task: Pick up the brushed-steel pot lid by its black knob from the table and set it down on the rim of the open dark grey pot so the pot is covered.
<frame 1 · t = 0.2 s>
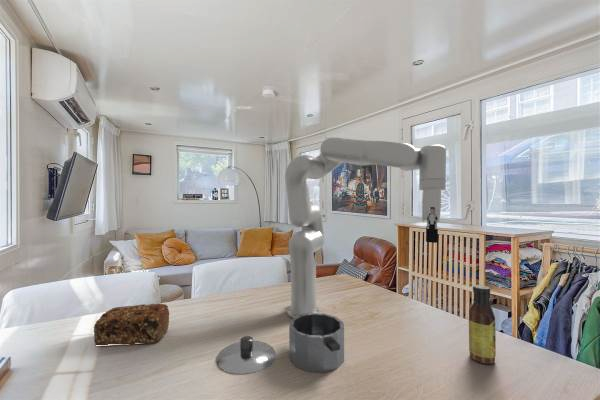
hand: (431, 240, 90), 31 cm above the table, tool pointing down, fingers open, 9 cm apart
lid: (246, 357, 81), on the table
bread: (133, 339, 91), on the table
sauce bottle: (481, 359, 79), on the table
pot: (316, 355, 81), on the table
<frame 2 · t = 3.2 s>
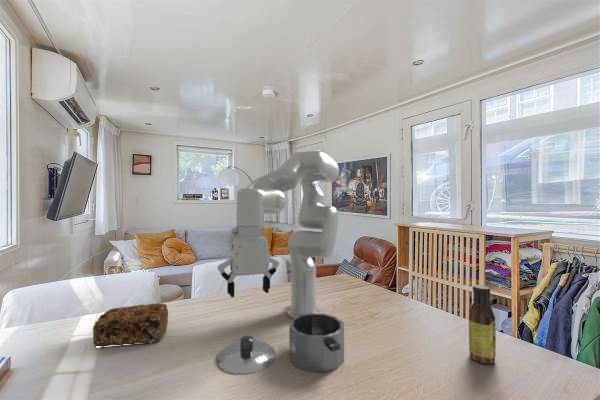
hand: (249, 293, 80), 18 cm above the table, tool pointing down, fingers open, 9 cm apart
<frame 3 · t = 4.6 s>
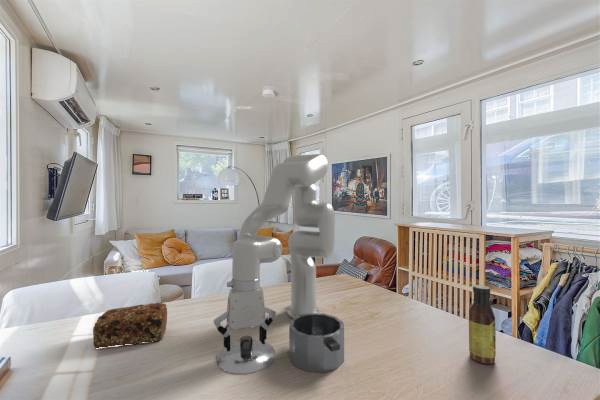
hand: (245, 345, 80), 3 cm above the table, tool pointing down, fingers open, 9 cm apart
nothing on the table moved.
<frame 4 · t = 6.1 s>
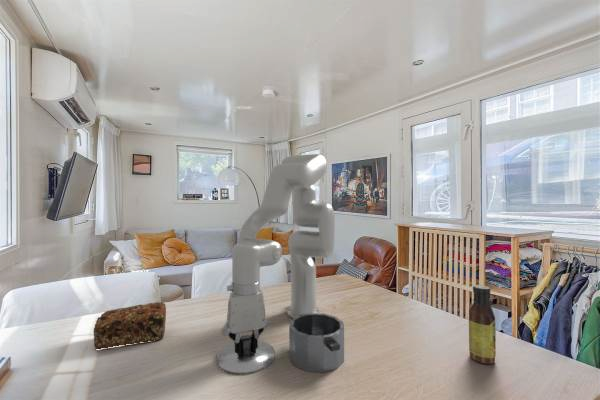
hand: (246, 352, 80), 1 cm above the table, tool pointing down, fingers closed on lid, 3 cm apart
lid: (246, 356, 80), on the table, touching gripper
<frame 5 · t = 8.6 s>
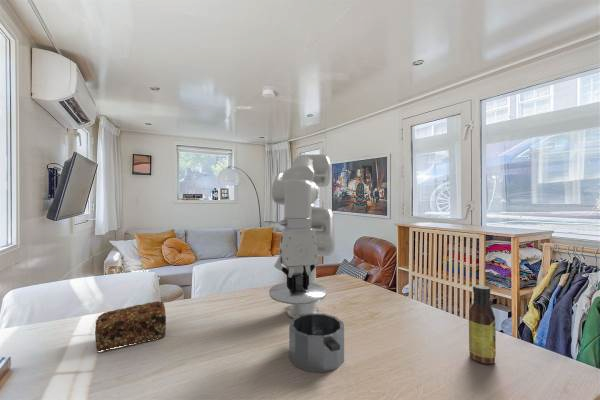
hand: (297, 288, 80), 19 cm above the table, tool pointing down, fingers closed on lid, 3 cm apart
lid: (297, 293, 80), point 18 cm above the table, touching gripper
when the fingers open (12 cm above the table, at t = 11.1 s): lid drops 1 cm, resting on pot.
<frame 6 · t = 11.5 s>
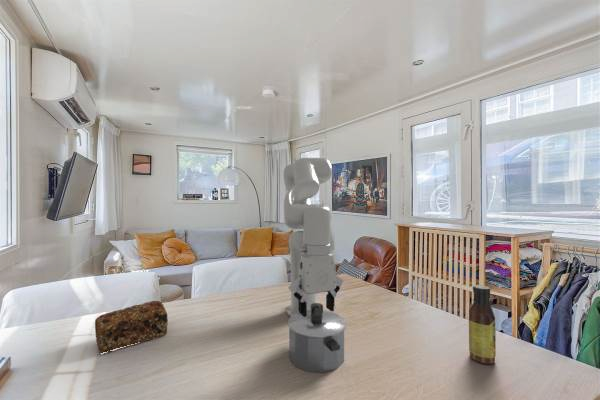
hand: (316, 311, 80), 12 cm above the table, tool pointing down, fingers open, 8 cm apart
lid: (316, 324, 81), point 9 cm above the table, touching pot
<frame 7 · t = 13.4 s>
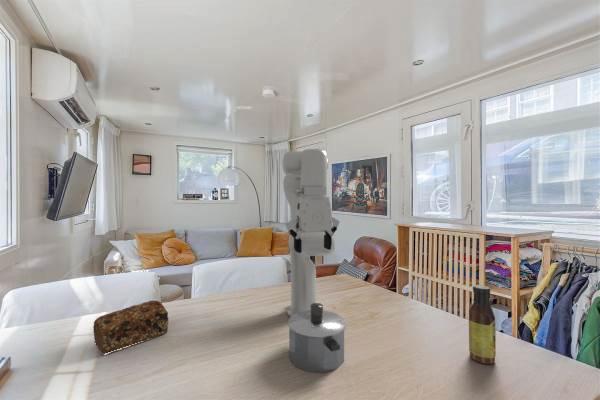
hand: (313, 250, 85), 29 cm above the table, tool pointing down, fingers open, 9 cm apart
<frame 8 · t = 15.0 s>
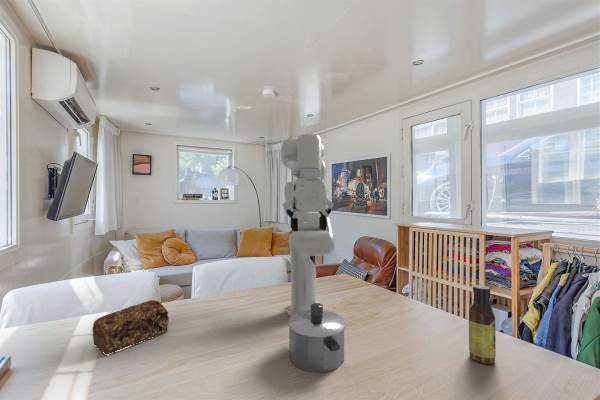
hand: (309, 230, 89), 34 cm above the table, tool pointing down, fingers open, 9 cm apart
at the end: lid 0.0 cm off-centre on the pot, point 9.0 cm above the pot's base; lid tilted 0°; the gripper is holding nothing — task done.
